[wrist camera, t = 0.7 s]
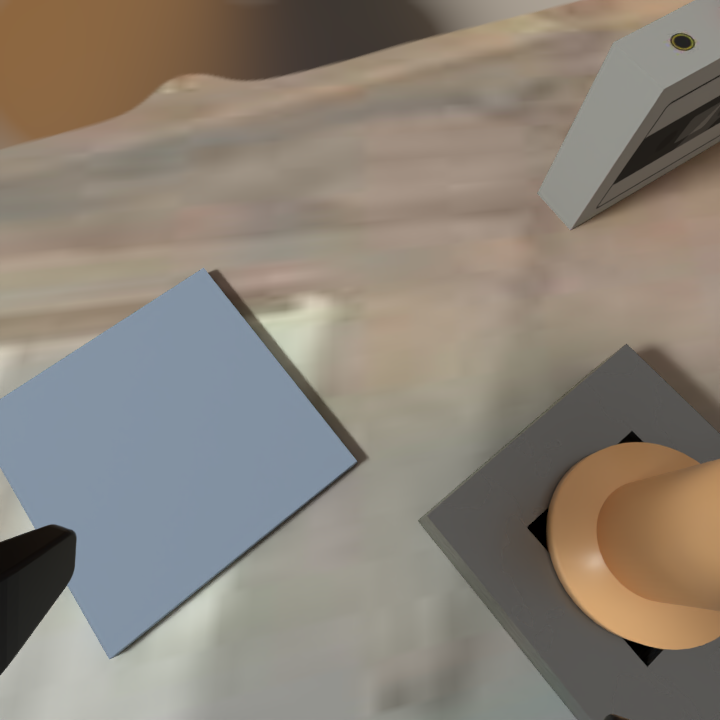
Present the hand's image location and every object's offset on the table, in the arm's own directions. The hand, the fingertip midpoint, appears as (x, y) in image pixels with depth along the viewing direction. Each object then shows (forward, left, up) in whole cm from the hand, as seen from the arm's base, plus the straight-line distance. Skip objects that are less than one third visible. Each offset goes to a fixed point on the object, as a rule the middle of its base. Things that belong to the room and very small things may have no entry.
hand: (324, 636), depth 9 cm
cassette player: (+7, -28, -14) cm, 32 cm away
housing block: (-5, -10, -14) cm, 18 cm away
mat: (+10, +2, -14) cm, 17 cm away
